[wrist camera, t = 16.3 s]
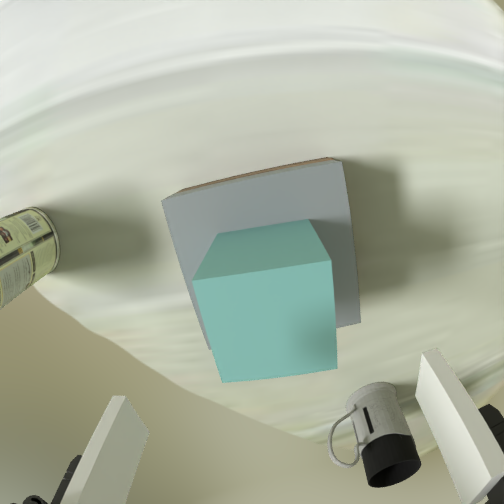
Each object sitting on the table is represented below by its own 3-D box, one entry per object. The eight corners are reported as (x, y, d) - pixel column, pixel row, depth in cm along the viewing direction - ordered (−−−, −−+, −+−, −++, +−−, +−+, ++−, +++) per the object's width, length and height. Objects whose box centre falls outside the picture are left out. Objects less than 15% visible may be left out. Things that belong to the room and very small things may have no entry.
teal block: (217, 233, 27) (191, 280, 18) (308, 219, 26) (331, 260, 17) (235, 312, 30) (222, 382, 20) (317, 300, 29) (337, 368, 19)
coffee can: (14, 264, 37) (-45, 302, 24) (13, 200, 34) (-56, 227, 21) (61, 283, 38) (1, 334, 24) (62, 215, 34) (-12, 250, 21)
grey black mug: (377, 420, 44) (398, 488, 30) (306, 409, 43) (315, 488, 29) (406, 386, 41) (437, 455, 27) (332, 371, 40) (352, 455, 26)
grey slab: (173, 193, 30) (161, 200, 26) (332, 159, 28) (341, 161, 24) (214, 329, 35) (208, 349, 31) (351, 304, 33) (360, 322, 29)
